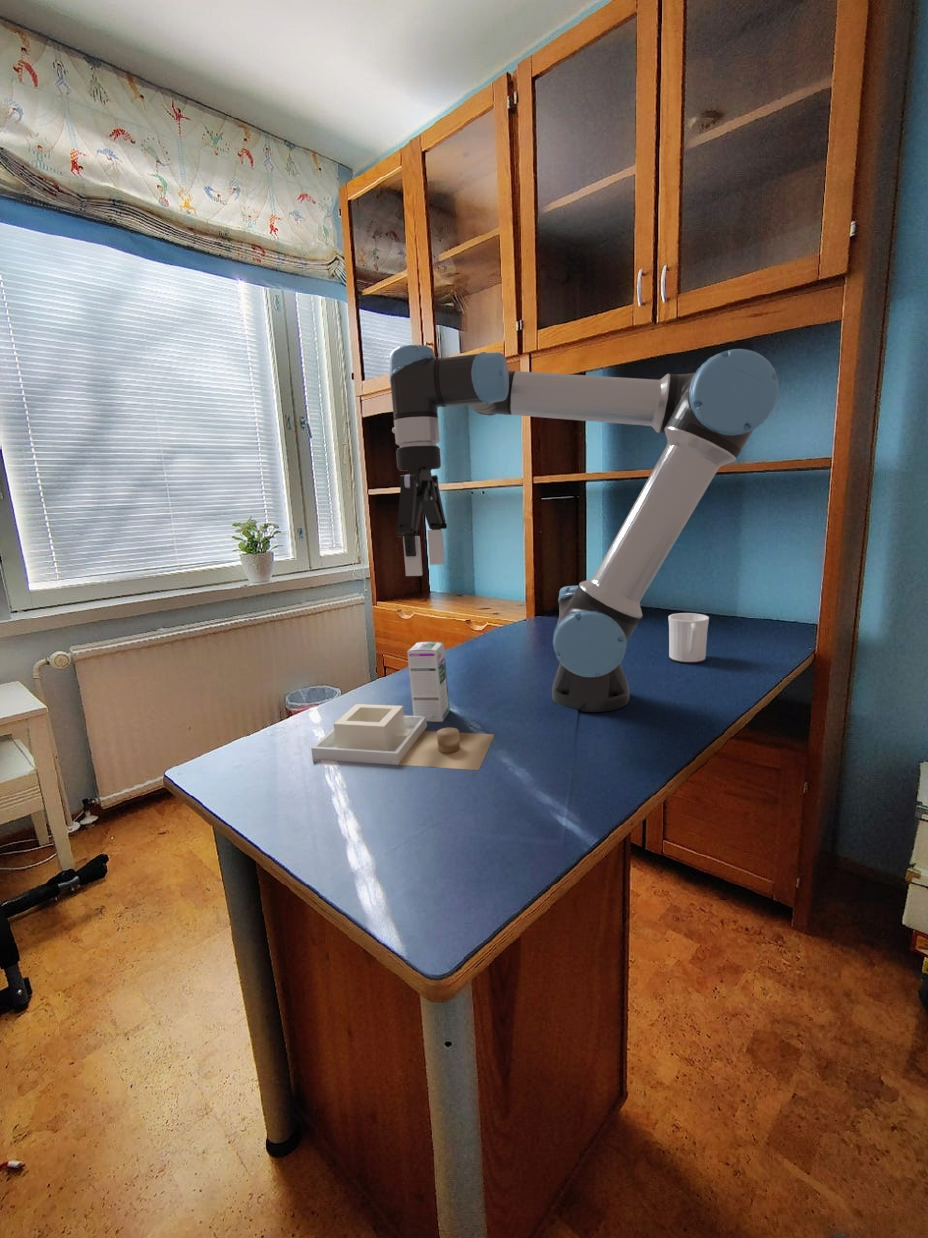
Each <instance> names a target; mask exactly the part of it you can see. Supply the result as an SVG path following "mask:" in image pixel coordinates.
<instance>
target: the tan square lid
mask: <svg viewBox="0 0 928 1238" xmlns="http://www.w3.org/2000/svg"><path fill="white" fill-rule="evenodd" d="M495 737H496V735H495V734H492V733H474V732H472V733H471V732H460V731H459V729H458V728H456V727H443V728H440V729H438V730H437V731H435V730H424V731H423V732H422V734H421V735H420V736H419V738H418V739H417V740H416V742H415V743H414V744H413V746H412V747H411V748H410V750H409V751H408V752H407V754H406V755H405V756H404V758H403V759H402V760H401V762H400V763H399V765H398V766H406V767H407V766H409V767H423V768H436V769H437V768H438V769H439V768H440V769H450V770H451V769H452V770H453V769H454V770H467V771H480V768H481V766H482V765H483V762H484V760H485V758H486V756H487V753H488V751H489V749H490V746H491V744H492V742H493V740H494V738H495Z"/></svg>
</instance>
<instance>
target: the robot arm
mask: <svg viewBox="0 0 928 1238" xmlns="http://www.w3.org/2000/svg"><path fill="white" fill-rule="evenodd" d="M389 382H390V393H391V394H390V395H391V402H392V403H391V405H392V413H393V426H394V427H392V429H391V432H392V433H393V434H394V439H395V445H397V446H399V448H397V449H396V451H395V454H396V455H395V456H396V467H397V470H399V472H401V471H402V472H407V474H403V475H402V474H401V475H400V477H399V486H400V491H399V500H398V501H399V502H398V510H397V513H398V514H397V522H396V537H398V538H402V544H403V555H404V567H405V568H404V570H405V577H421V576H423V564H422V561H423V560H422V549H421V537H420V535H418V531H419V526H420V522H421V515H422V511H423V513H424V516H425V519H426V522H427V525H428V527H429V529H428V530H427V543H428V556H429V557H428V559H429V565H430V566H432V565H433V566H434V565H435V566H436V565H445V549H444V535H443V534H444V533H443V530H445V529H447V528H448V523H447V522H446V518H445V517H446V516H445V513H444V509H443V508H444V507H443V503H442V498H441V492H440V488H439V477H438V474H435V475H434V474H432V470H438V469H440V468H441V466H442V461H441V459H442V458H441V448H439V446H437V444H439V443H440V441H441V439H440V426H439V413H438V409H439V408H441V407H442V408H447V407H454V406H455V407H457V406H459V407H460V406H461V407H462V406H468V407H469V408H471V409H473V411H475V412H477V414H479V415H482V416H488V417H489V416H490V417H491V416H494V415H504V416H505V415H507V416H509V415H510V416H511V415H512V416H519V417H520V416H523V417H534V418H546V419H547V418H548V419H559V420H569V421H570V420H572V421H583V422H585V421H586V422H598V423H610V424H620V425H621V424H622V425H623V424H624V425H635V426H649V427H652V429H654V431H655V432H656V433H658V434H665V436H666V440H667V442H666V443H667V444H666V446H665V448H664V449H663V452H662V453H661V454H660V457H659V459H658V460H657V462H656V464H655V466H654V467H653V469H652V472H651V473H650V475H649V476H648V479H647V480H646V482H645V484H644V486H643V487H642V489H641V491H640V493H639V495H638V496H637V498H636V500H635V501H634V503H633V506H632V507H631V509H630V511H629V513H628V515H627V517H626V518H625V519H624V521H623V523H622V525H621V527H620V529H619V531H618V532H617V534H616V536H615V537H614V540H613V541H612V543H611V544H610V547H609V548H608V550H607V552H606V554H605V556H604V558H603V559H602V561H601V563H600V565H599V567H598V568H597V569H596V572H595V574H594V576H593V577H591V578H590V579H587V580H583V581H581V582H579V584H578V585H567V586H563V587H561V588H560V590H559V593H558V594H559V595H558V599H557V601H558V605H559V606H558V607H559V608H558V609H559V613H558V614H559V615H558V619H557V622H556V623H557V624H556V626H555V628H554V630H553V634H552V646H553V650H554V654H555V656H556V658H557V660H558V662H559V665H558V668H557V671H556V674H555V677H554V680H553V684H552V688H551V700H552V701H553V702H554V704H556V705H561V706H563V707H566V708H569V709H574V710H577V711H578V712H583V713H602V712H610V711H616V710H618V709H621V708H624V707H625V706H626V705H628V704H629V702H630V686H629V684H628V680H627V677H626V674H625V673H624V669H623V666H622V661H623V659H624V657H625V655H626V651H627V646H628V644H627V643H628V641H629V639H630V637H631V636H632V635H633V632H634V631H635V629H636V627H637V626H638V624H639V622H640V621H641V619H642V618H643V612H642V608H641V603H640V602H641V601H642V599H643V597H644V595H645V593H646V592H647V590H648V589H649V587H650V586H651V584H652V582H653V580H654V578H655V577H656V575H657V574H658V572H659V570H660V568H661V567H662V565H663V563H664V561H665V560H666V558H667V557H668V555H669V553H670V551H671V550H672V548H673V546H674V544H675V543H676V541H677V540H678V538H679V536H680V534H681V532H683V530H684V527H685V526H686V525H687V523H688V521H689V519H690V517H691V516H692V514H693V513H694V511H695V509H696V507H697V506H698V504H699V502H700V500H701V499H702V497H703V496H704V494H705V492H706V490H707V489H708V487H709V485H710V483H711V482H712V480H713V479H714V477H715V475H716V474H717V472H718V470H719V469H720V468H721V467H722V466H726V465H728V464H730V463H734V462H736V460H737V458H738V457H739V455H740V453H741V451H742V450H743V448H744V447H745V445H746V443H747V441H748V440H749V439H750V438H751V435H752V434H753V432H754V431H755V430H756V429H757V428H759V427H760V426H761V425H762V424H764V422H765V421H766V420H767V419H768V417H769V416H770V415H771V413H772V411H773V410H774V407H776V403H777V401H778V396H779V387H780V386H779V380H778V375H777V373H776V369H775V368H774V366H773V365H772V364H771V362H770V361H769V360H768V359H767V358H766V357H764V355H762V354H760V353H758V352H756V351H755V350H754V351H753V350H751V349H745V348H735V349H728V350H726V351H725V350H724V351H722V352H720V353H716V354H715V355H713V356H711V357H709V358H707V360H706V361H704V362H702V364H701V365H700V367H698V368H697V370H696V372H692V373H683V374H681V373H680V374H676V373H675V374H674V373H667V374H665V375H664V376H663V377H662V378H660V379H652V378H649V379H648V378H636V377H635V378H634V377H633V378H632V377H617V376H602V375H601V376H599V375H585V374H568V373H555V372H553V373H550V372H537V371H536V372H534V371H520V370H519V371H518V370H516V371H514V370H509V366H508V362H507V358H506V356H505V354H503V353H502V352H496V351H495V352H486V351H483V352H482V351H481V352H479V353H473V354H466V355H465V354H464V355H457V356H456V355H455V356H449V357H448V356H447V357H436V356H435V353H434V350H433V348H431V347H430V346H428V345H422V344H413V345H412V344H407V345H402V346H397V347H396V348H394V349H393V350H392V351H390V354H389Z"/></svg>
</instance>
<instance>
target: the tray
mask: <svg viewBox="0 0 928 1238" xmlns="http://www.w3.org/2000/svg"><path fill="white" fill-rule="evenodd" d="M404 722H405V730H412V731H411V732H410V734H409V735H408V736H407V737H406V739H405V740H404V741H403V742H402V744H401V745H400V746H394V747H393V748H392V749H391V750H390V751H377V750H361V749H345V748H336V741H335V732H334V727H333V728H332V729H331V730H329V732H327V733H326V734H325V735H324V736H323V737H322V738H321V739H320V740H318V742H316V743H315V744H314V745H313V746H312V747H311V757H312V762H313V763H319V762H320V761H321V760H322V761H334V762H335V761H337V762H351V763H366V764H379V765H381V764H382V765H394V766H396V765H397V766H400V765H399V763H400V762H401V760H402V759H403V758H404V756H405V755H406V754H407V752H408V751H409V750H410V748H411V747H412V746H413V744H414V743H415V742H416V740H417V739H418V738H419V736H420V735H421V734H422V732H423V731H426V729H427V727H428V721H427V718H426V716H413V715H405V714H404Z"/></svg>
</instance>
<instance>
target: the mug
mask: <svg viewBox="0 0 928 1238" xmlns="http://www.w3.org/2000/svg"><path fill="white" fill-rule="evenodd" d="M667 617H668V618H667V619H668V629H669V630H668V638H669V639H668V642H669V643H668V644H669V645H668V649H669V651H668V658H669V660H670V661H671V662H674V663H678V664H683V665H697V664H702V663H704V662H705V660H706V657H707V656H706V655H707V640H708V639H707V638H708V628H709V621H710V616H708V615H706V614H701V613H693V612H682V613H681V612H679V613H672V614H669V615H668V616H667Z"/></svg>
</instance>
